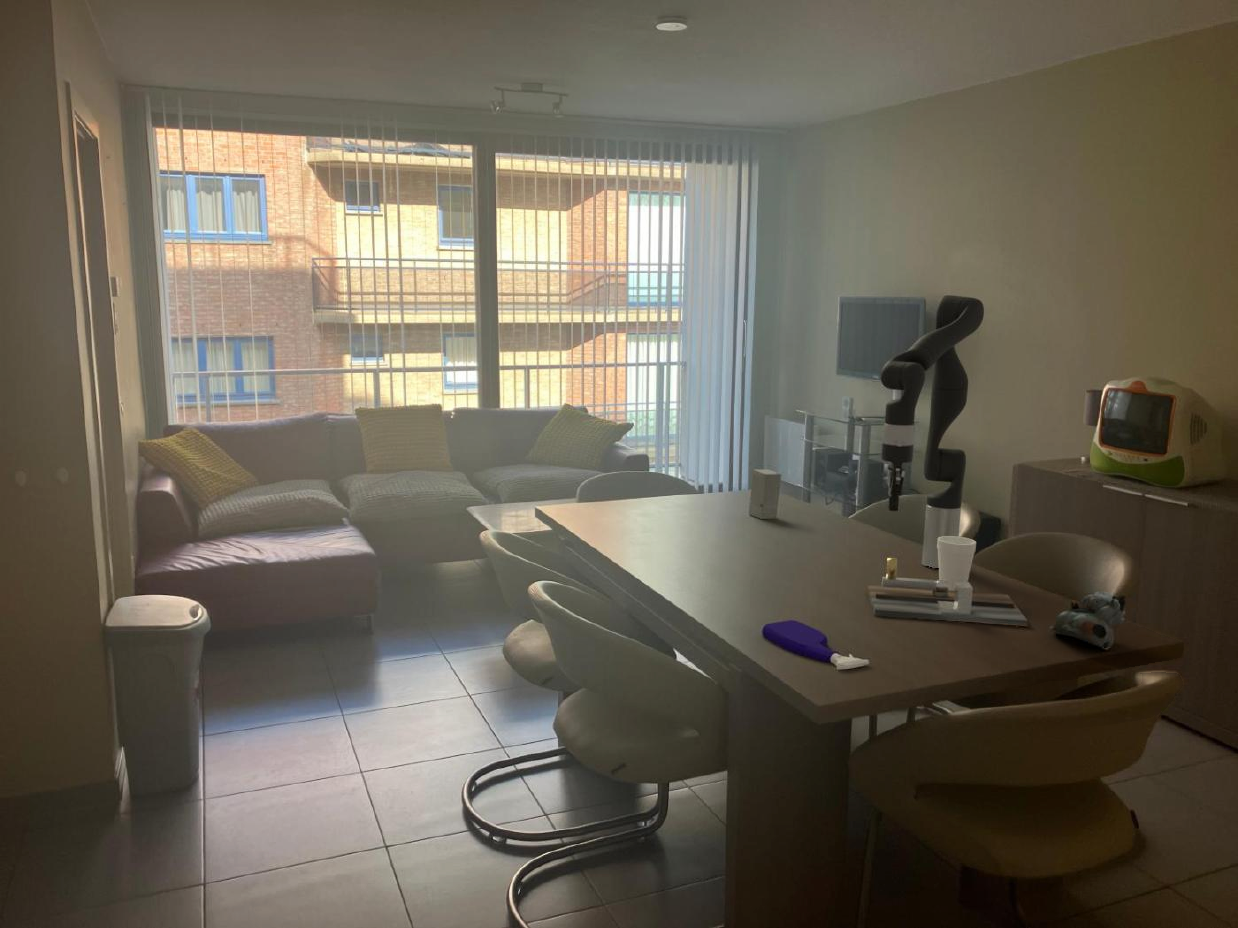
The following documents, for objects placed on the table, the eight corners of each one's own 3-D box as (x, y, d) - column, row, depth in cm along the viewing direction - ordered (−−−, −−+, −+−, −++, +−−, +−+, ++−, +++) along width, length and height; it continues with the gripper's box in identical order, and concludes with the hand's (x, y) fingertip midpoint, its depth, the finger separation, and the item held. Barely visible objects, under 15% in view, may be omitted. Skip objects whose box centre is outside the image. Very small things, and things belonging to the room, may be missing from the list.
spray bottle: (757, 624, 216) (834, 663, 195) (797, 618, 221) (875, 654, 200) (756, 637, 216) (832, 677, 195) (796, 630, 222) (874, 668, 201)
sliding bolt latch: (867, 590, 253) (868, 580, 253) (1007, 600, 248) (1008, 590, 247) (874, 615, 233) (875, 604, 232) (1027, 627, 227) (1028, 615, 227)
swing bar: (946, 588, 247) (949, 560, 245) (949, 592, 243) (951, 564, 242) (881, 583, 249) (883, 556, 248) (882, 587, 246) (884, 560, 244)
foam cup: (946, 595, 251) (951, 545, 249) (926, 585, 260) (930, 536, 258) (979, 593, 253) (984, 543, 251) (958, 583, 262) (962, 535, 260)
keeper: (937, 605, 237) (939, 579, 236) (965, 607, 236) (968, 581, 235) (940, 613, 231) (943, 586, 230) (970, 615, 230) (972, 588, 229)
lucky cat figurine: (1043, 629, 226) (1072, 575, 226) (1094, 656, 223) (1123, 601, 223) (1058, 630, 211) (1089, 573, 212) (1113, 659, 208) (1144, 601, 209)
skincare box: (748, 514, 341) (750, 469, 338) (765, 513, 344) (768, 468, 341) (761, 520, 333) (764, 473, 331) (779, 518, 336) (782, 472, 334)
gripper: (879, 437, 255) (875, 504, 257) (885, 445, 242) (880, 514, 244) (910, 439, 253) (905, 505, 256) (917, 446, 240) (911, 516, 243)
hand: (892, 510), depth 250 cm, fingers closed
